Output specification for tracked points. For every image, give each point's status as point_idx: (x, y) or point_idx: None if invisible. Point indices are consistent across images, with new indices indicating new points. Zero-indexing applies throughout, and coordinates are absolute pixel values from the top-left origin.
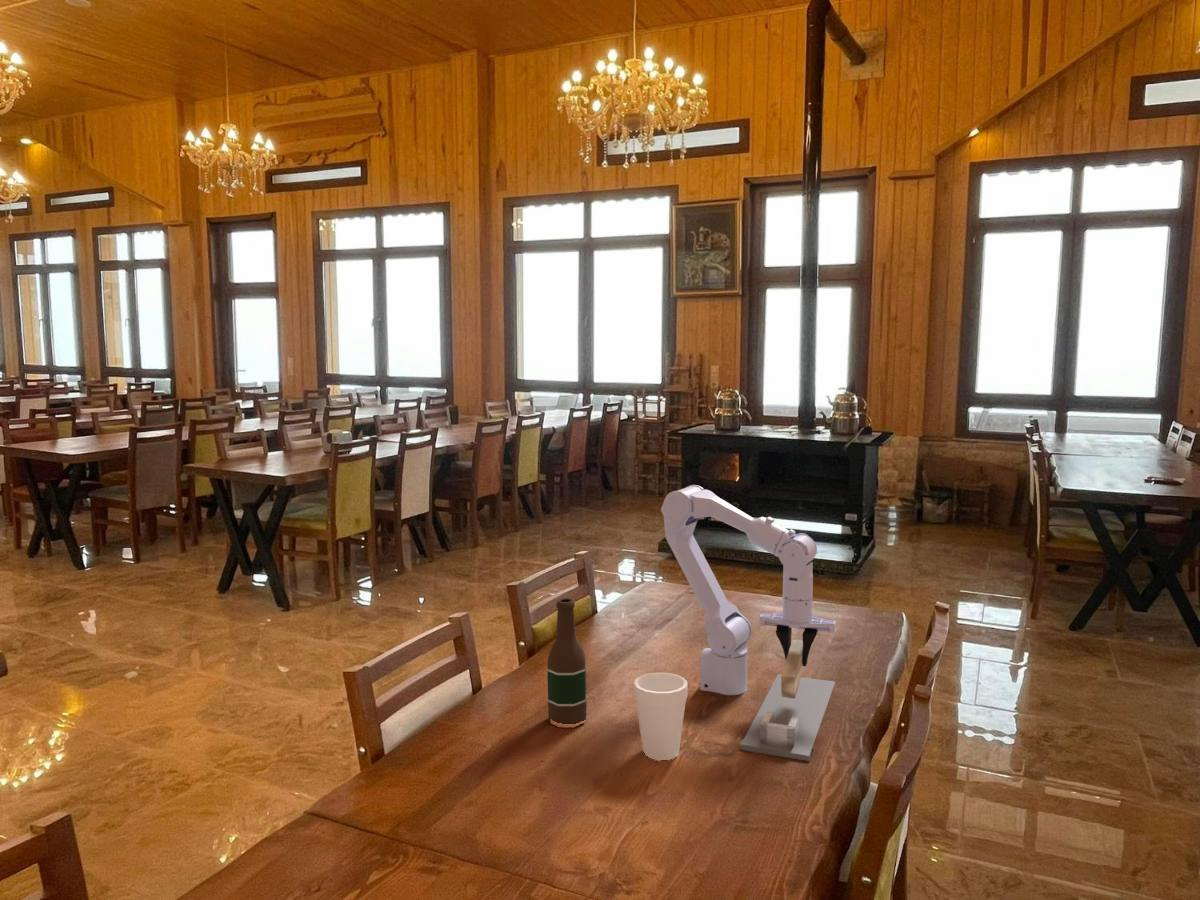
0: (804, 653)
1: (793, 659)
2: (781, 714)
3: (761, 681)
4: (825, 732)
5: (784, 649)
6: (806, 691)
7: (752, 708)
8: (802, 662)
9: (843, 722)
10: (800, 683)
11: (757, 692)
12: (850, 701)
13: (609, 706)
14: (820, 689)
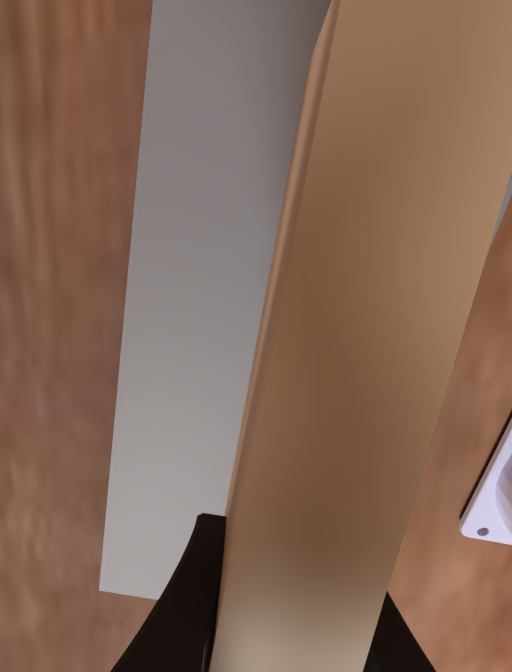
0: (192, 614)
1: (332, 461)
2: None
3: (404, 583)
4: (120, 78)
5: (420, 666)
6: (219, 495)
7: (494, 326)
8: (223, 536)
9: (37, 230)
10: None
11: (438, 490)
12: (31, 455)
13: None
14: (157, 519)
